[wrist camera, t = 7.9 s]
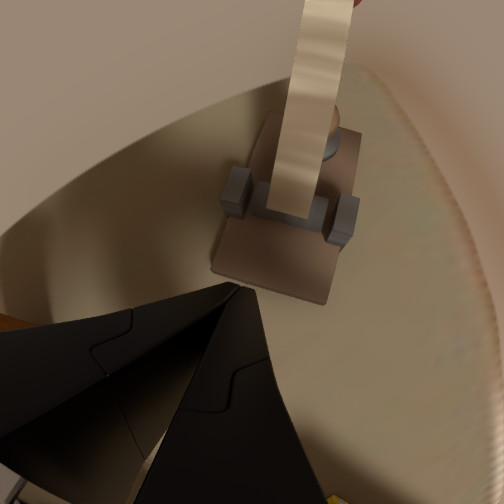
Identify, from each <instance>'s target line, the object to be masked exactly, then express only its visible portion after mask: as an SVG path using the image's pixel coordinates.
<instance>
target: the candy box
mask: <svg viewBox="0 0 504 504" xmlns="http://www.w3.org/2000/svg"><path fill="white" fill-rule="evenodd" d="M327 501H328V503H329V504H349V503H347V502H346V501H344V500H342V499H340V498H339V497H337V496H335V495H332V496H330V497H329V498H328V499H327Z"/></svg>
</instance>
